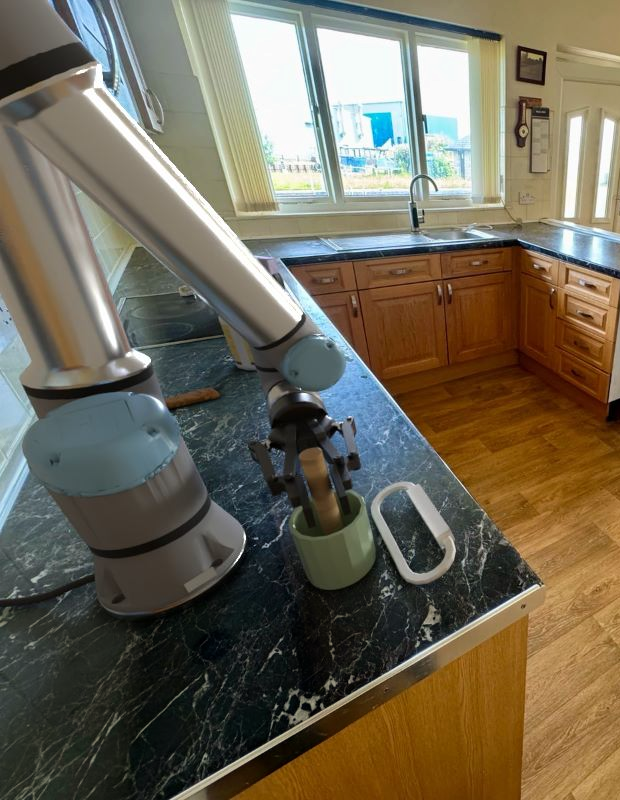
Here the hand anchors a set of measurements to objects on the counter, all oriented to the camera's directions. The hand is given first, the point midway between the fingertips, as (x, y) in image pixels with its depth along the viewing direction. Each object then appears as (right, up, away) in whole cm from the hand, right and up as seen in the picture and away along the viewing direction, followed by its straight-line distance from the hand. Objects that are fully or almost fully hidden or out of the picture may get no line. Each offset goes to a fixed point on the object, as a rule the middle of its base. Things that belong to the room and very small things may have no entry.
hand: (327, 511), depth 46 cm
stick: (-3, -8, +10) cm, 13 cm away
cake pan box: (-72, +44, +101) cm, 131 cm away
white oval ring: (+5, -7, +16) cm, 18 cm away
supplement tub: (-48, +22, +64) cm, 83 cm away
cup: (-3, -10, +11) cm, 15 cm away
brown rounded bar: (-55, +10, +43) cm, 71 cm away
